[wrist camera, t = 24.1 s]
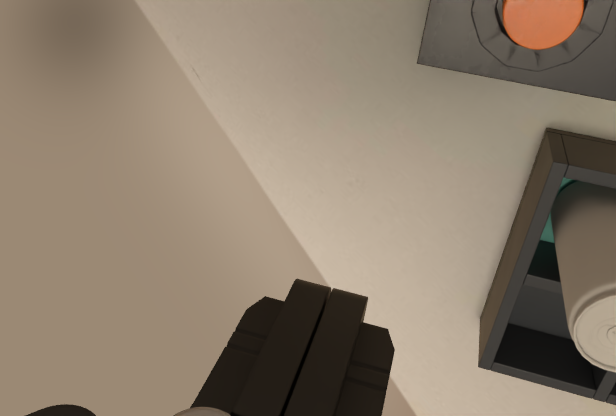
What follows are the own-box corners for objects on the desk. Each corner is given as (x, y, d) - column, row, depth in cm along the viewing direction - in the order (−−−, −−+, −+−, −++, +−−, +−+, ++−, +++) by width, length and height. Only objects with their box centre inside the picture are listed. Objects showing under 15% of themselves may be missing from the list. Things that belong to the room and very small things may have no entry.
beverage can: (537, 191, 36) (552, 309, 26) (619, 160, 34) (669, 277, 24) (567, 251, 38) (592, 386, 28) (647, 226, 36) (706, 362, 26)
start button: (493, 33, 31) (493, 43, 29) (513, -40, 29) (514, -35, 27) (564, 46, 30) (568, 56, 28) (589, -28, 28) (595, -22, 26)
